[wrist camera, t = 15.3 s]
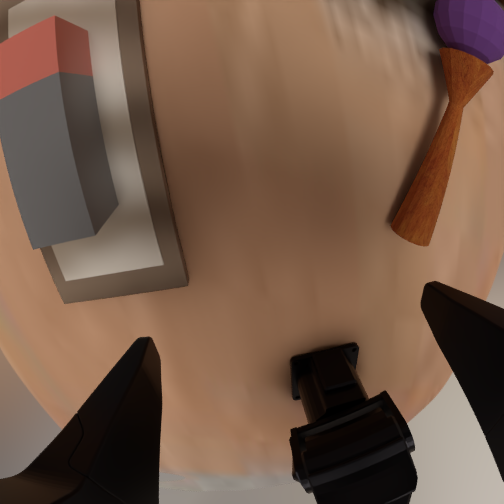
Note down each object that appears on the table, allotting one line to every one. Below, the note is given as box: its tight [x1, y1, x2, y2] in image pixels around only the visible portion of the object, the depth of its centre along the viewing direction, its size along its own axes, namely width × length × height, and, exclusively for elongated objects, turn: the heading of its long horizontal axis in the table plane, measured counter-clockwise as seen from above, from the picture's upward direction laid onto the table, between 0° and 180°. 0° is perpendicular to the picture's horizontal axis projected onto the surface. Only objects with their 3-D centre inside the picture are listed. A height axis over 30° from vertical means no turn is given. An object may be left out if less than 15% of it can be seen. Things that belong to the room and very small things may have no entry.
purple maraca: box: [391, 0, 504, 246], centre depth 16 cm, size 6×6×20 cm
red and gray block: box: [0, 15, 119, 250], centre depth 13 cm, size 11×4×4 cm, turn 7°
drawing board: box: [0, 0, 189, 304], centre depth 15 cm, size 24×10×1 cm, turn 7°
